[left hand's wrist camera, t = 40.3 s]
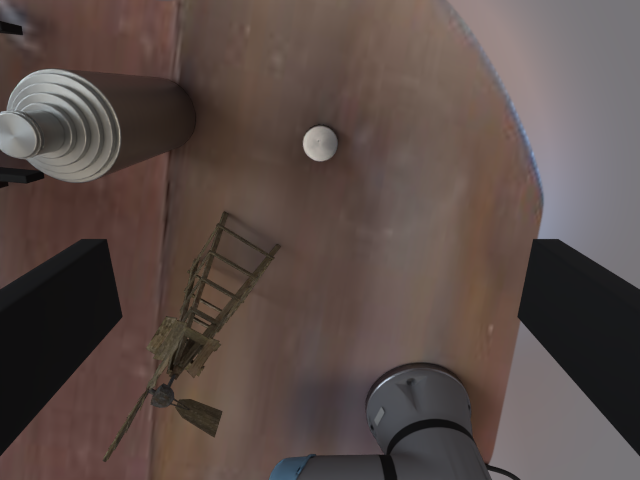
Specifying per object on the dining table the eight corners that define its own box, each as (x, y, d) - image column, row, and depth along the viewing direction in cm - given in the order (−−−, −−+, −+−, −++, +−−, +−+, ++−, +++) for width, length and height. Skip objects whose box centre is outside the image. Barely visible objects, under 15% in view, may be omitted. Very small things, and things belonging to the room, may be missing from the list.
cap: (296, 144, 46) (295, 146, 44) (317, 116, 45) (317, 117, 43) (322, 165, 47) (322, 169, 45) (344, 138, 46) (345, 141, 44)
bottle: (201, 89, 44) (86, 88, 22) (189, 157, 47) (76, 215, 25) (130, 68, 43) (-59, 44, 22) (122, 138, 46) (-54, 180, 24)
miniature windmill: (226, 207, 48) (96, 367, 20) (284, 243, 50) (238, 436, 22) (191, 263, 51) (35, 472, 23) (247, 295, 53) (165, 527, 25)
